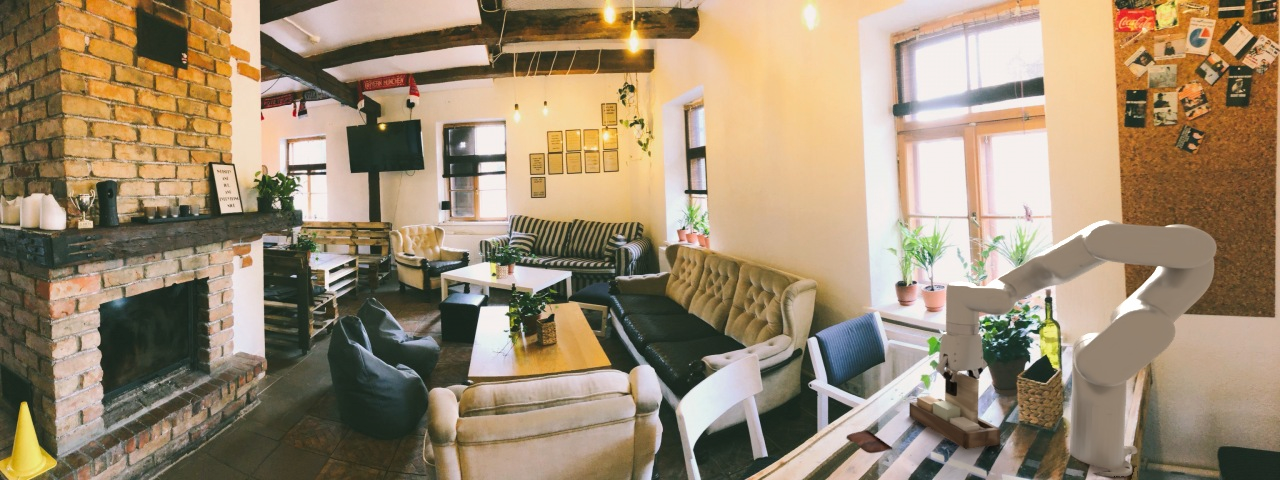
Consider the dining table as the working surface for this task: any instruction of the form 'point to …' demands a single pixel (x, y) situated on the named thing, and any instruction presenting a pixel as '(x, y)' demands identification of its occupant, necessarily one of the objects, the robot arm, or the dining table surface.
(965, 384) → the light wooden board
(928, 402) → the offcut
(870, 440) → the wooden tablet
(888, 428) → the dining table surface
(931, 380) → the dining table surface
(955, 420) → the offcut
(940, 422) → the brown wooden tray
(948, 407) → the block
